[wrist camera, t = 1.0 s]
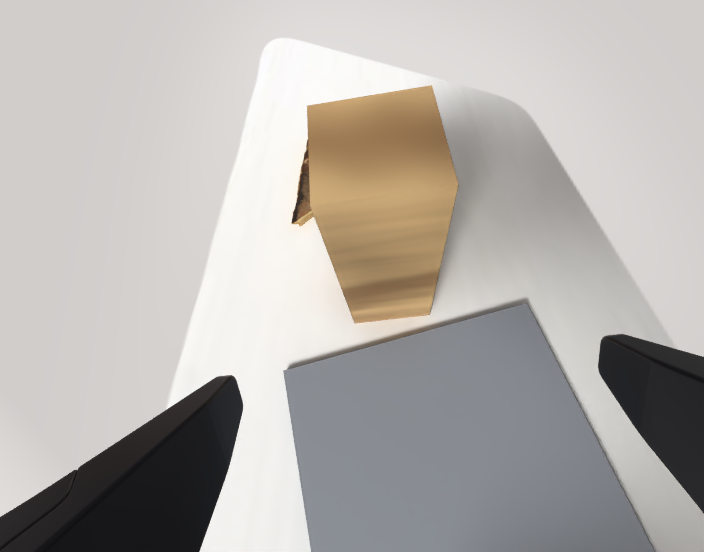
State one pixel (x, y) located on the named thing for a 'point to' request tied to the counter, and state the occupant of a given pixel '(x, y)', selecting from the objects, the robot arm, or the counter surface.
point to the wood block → (382, 198)
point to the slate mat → (454, 447)
